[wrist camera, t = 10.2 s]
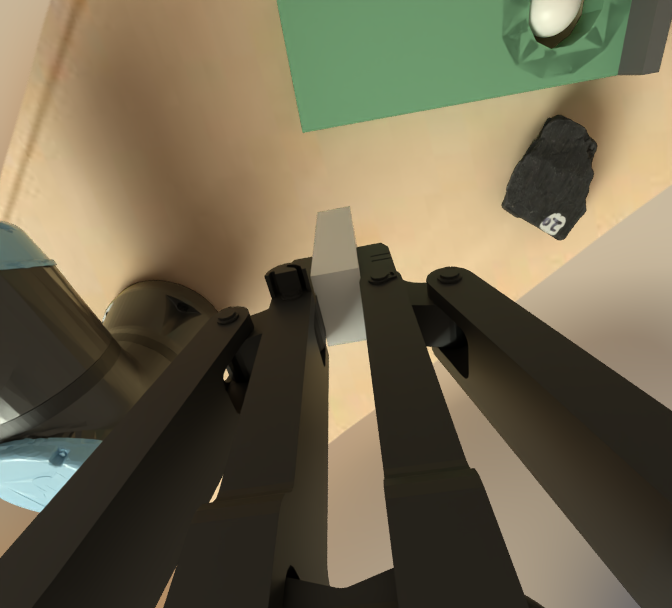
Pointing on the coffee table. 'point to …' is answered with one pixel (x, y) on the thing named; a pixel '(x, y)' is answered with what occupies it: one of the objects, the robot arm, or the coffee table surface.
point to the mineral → (553, 178)
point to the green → (452, 52)
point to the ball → (551, 16)
